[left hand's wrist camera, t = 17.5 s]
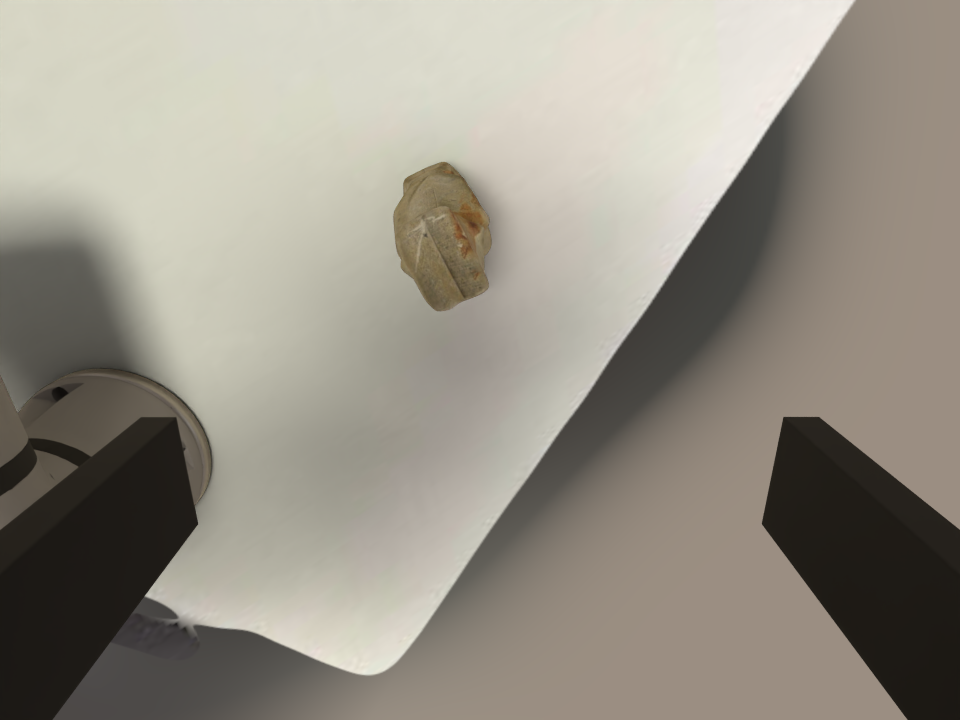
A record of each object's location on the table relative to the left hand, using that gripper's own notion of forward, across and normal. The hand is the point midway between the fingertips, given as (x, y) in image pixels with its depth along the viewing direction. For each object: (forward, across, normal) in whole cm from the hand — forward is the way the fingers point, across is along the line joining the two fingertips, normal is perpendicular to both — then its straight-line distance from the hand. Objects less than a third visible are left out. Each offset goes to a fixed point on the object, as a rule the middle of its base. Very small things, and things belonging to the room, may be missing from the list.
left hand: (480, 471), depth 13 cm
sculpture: (+33, +2, -2) cm, 33 cm away
